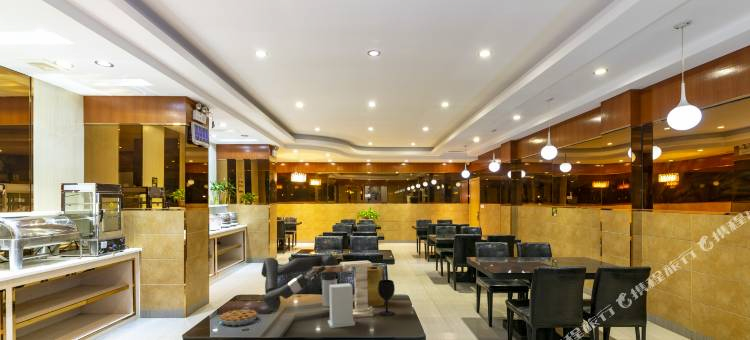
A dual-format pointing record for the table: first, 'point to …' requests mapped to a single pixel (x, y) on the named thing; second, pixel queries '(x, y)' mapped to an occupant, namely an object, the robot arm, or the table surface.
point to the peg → (335, 268)
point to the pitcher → (374, 285)
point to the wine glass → (386, 294)
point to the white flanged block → (341, 305)
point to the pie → (238, 317)
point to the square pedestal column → (360, 288)
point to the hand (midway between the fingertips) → (324, 266)
